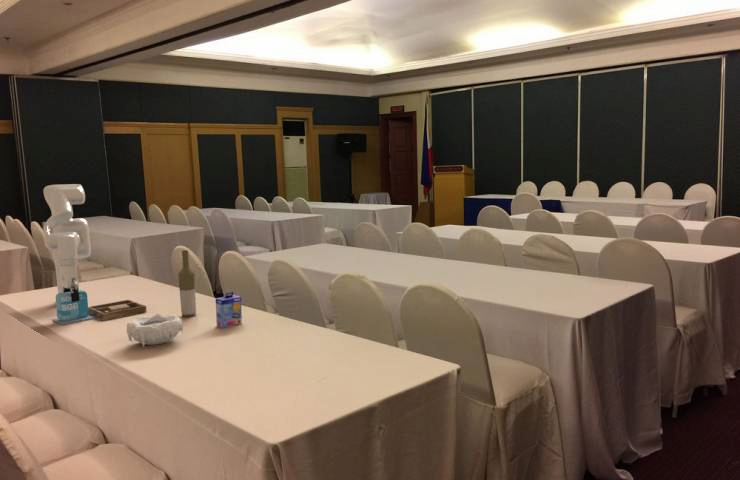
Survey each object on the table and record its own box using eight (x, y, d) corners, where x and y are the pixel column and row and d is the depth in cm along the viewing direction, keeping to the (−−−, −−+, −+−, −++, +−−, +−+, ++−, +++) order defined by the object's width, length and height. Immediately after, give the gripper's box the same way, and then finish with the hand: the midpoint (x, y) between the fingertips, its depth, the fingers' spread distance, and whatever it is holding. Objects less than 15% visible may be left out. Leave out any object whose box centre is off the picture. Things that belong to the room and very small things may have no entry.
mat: (52, 320, 265) (52, 319, 265) (85, 314, 274) (84, 313, 274) (61, 325, 256) (61, 324, 256) (94, 318, 266) (94, 317, 266)
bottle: (178, 315, 268) (173, 250, 264) (192, 312, 273) (188, 249, 269) (185, 318, 263) (181, 252, 259) (199, 315, 268) (196, 250, 264)
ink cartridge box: (223, 328, 246) (221, 294, 244) (215, 326, 250) (214, 293, 248) (243, 323, 253) (241, 290, 251) (235, 321, 257) (234, 289, 255)
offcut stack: (104, 315, 273) (104, 307, 273) (127, 311, 279) (126, 303, 279) (109, 318, 268) (108, 309, 267) (131, 314, 274) (131, 306, 273)
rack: (88, 313, 276) (87, 307, 276) (129, 305, 290) (128, 299, 290) (103, 320, 263) (103, 314, 262) (146, 312, 276) (146, 305, 276)
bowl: (128, 339, 234) (126, 314, 232) (182, 333, 241) (180, 309, 239) (127, 354, 214) (125, 328, 213) (185, 347, 222) (184, 321, 220)
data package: (60, 321, 260) (58, 295, 258) (57, 320, 263) (55, 293, 261) (89, 316, 268) (86, 290, 267) (85, 314, 271) (83, 289, 270)
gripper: (53, 260, 265) (56, 297, 268) (66, 265, 253) (69, 304, 256) (70, 258, 271) (73, 294, 273) (84, 263, 259) (87, 301, 261)
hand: (71, 299), depth 265 cm, fingers open, 9 cm apart
